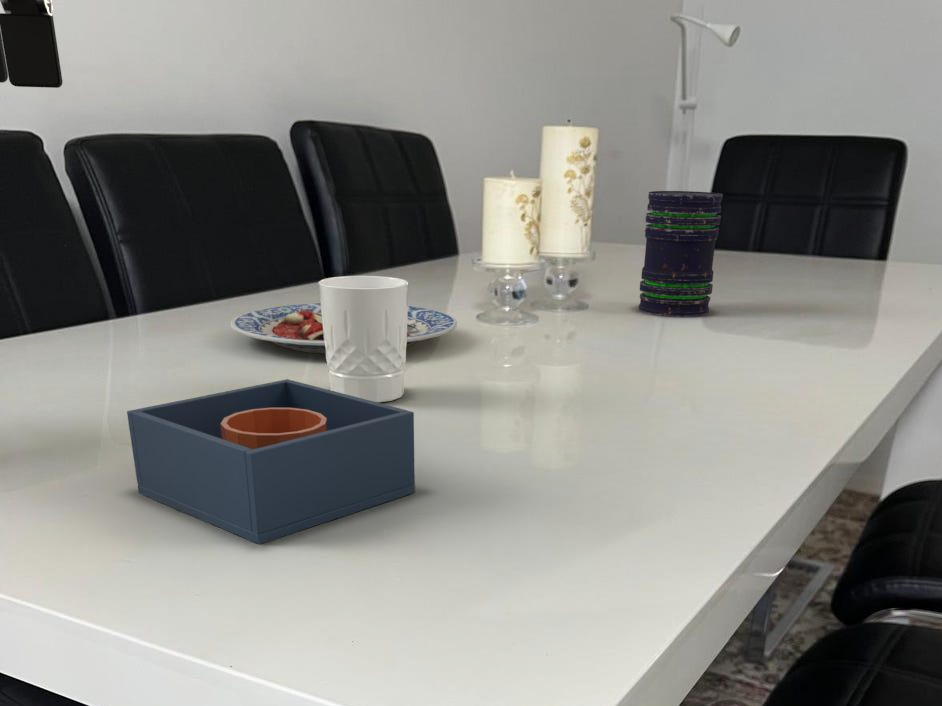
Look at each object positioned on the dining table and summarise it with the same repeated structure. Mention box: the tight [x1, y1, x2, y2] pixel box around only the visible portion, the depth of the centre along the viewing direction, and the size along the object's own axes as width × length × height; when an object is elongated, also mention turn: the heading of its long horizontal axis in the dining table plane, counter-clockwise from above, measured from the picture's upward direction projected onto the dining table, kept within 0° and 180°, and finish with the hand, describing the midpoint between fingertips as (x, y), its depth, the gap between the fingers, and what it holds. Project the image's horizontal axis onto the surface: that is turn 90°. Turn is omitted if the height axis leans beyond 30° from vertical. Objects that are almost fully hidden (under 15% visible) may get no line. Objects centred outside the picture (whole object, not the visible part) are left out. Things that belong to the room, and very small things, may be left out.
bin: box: [126, 378, 416, 545], centre depth 66 cm, size 13×13×6 cm
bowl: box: [220, 408, 328, 449], centre depth 66 cm, size 7×7×4 cm
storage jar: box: [638, 190, 724, 318], centre depth 135 cm, size 10×10×15 cm
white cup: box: [318, 275, 409, 403], centre depth 90 cm, size 8×8×10 cm
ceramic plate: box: [230, 302, 458, 355], centre depth 115 cm, size 26×26×3 cm
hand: (9, 84), depth 60 cm, fingers open, 9 cm apart
